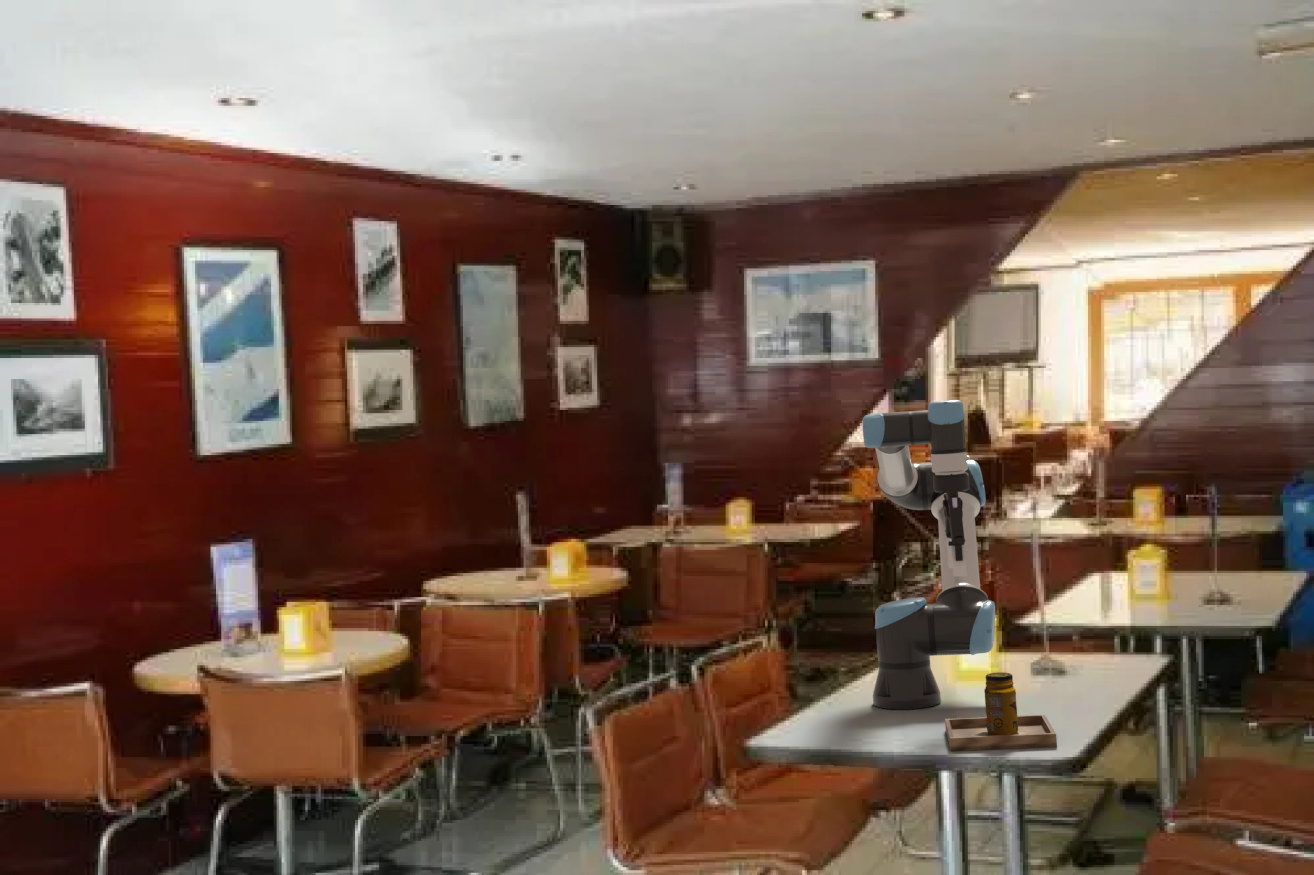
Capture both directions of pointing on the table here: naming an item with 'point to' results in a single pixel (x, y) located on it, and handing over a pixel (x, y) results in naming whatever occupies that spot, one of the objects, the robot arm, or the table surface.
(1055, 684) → the table surface
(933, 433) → the robot arm
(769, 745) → the table surface
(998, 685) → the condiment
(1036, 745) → the walnut tray
